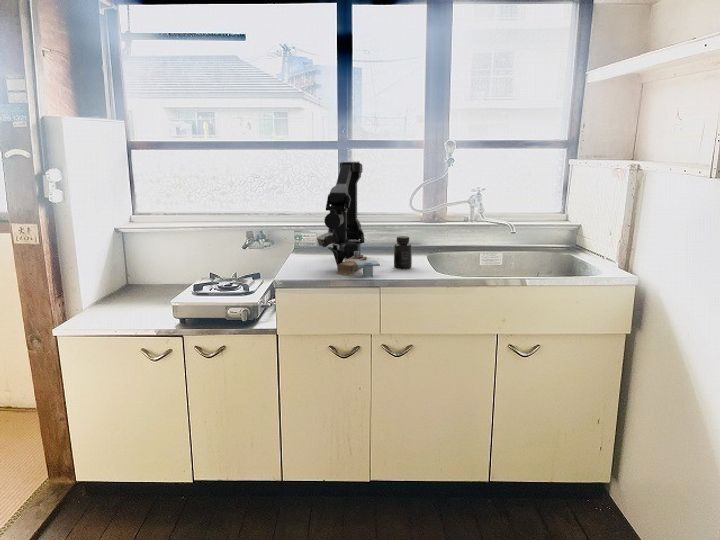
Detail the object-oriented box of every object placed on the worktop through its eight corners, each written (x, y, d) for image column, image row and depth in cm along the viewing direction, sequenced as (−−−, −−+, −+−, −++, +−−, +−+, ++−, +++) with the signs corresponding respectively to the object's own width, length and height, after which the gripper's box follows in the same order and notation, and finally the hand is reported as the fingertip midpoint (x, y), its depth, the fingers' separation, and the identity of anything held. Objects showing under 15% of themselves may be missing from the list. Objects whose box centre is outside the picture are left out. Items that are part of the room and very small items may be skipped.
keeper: (379, 276, 190) (379, 263, 189) (357, 277, 188) (357, 265, 187) (374, 271, 196) (374, 260, 195) (353, 272, 194) (353, 261, 193)
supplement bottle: (413, 266, 205) (414, 236, 203) (409, 270, 199) (409, 238, 196) (396, 265, 207) (396, 235, 205) (391, 268, 201) (392, 237, 198)
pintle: (356, 264, 209) (356, 250, 208) (360, 265, 208) (360, 251, 207) (352, 265, 207) (352, 251, 206) (357, 265, 206) (357, 252, 205)
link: (351, 274, 192) (351, 266, 191) (337, 273, 193) (337, 265, 193) (366, 264, 208) (366, 256, 208) (353, 263, 210) (353, 255, 209)
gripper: (307, 223, 199) (308, 264, 202) (332, 230, 184) (332, 273, 187) (333, 221, 205) (333, 261, 208) (359, 227, 189) (359, 270, 193)
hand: (338, 266), depth 199 cm, fingers closed
